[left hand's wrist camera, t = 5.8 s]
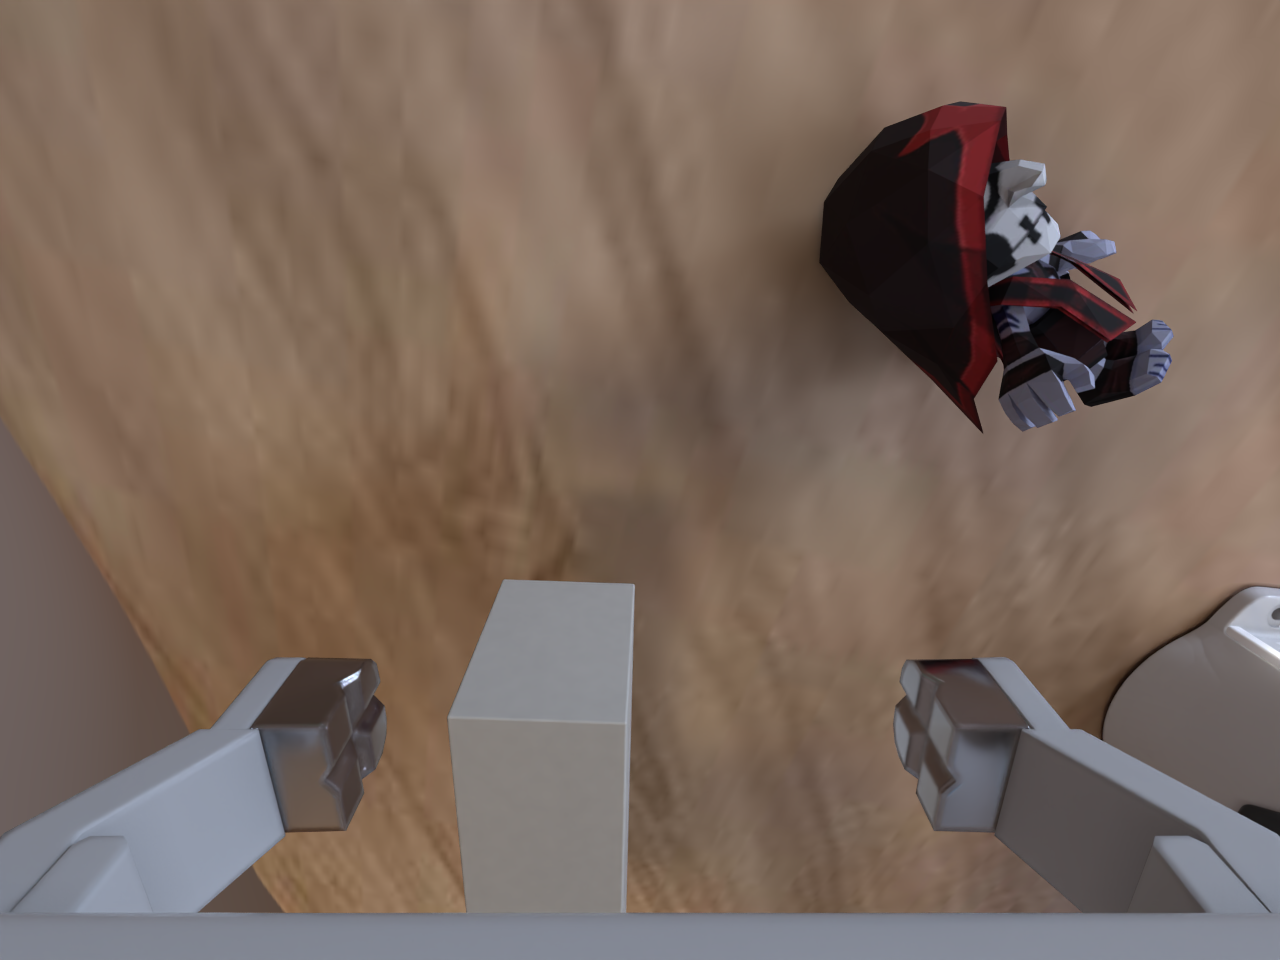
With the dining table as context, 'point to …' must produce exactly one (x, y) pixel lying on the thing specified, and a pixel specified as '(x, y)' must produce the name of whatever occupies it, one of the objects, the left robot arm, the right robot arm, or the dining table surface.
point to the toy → (981, 271)
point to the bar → (546, 750)
